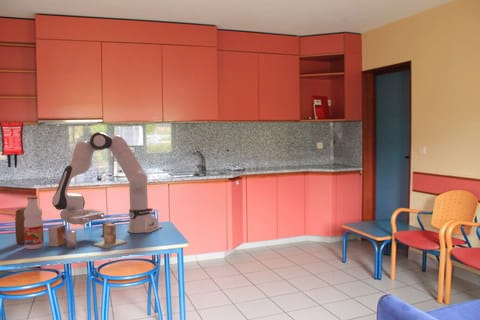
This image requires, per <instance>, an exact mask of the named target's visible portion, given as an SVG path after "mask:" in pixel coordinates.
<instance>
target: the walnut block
mask: <svg viewBox="0 0 480 320" xmlns="http://www.w3.org/2000/svg"><path fill="white" fill-rule="evenodd" d="M107 224H115V222H113V221H105V222H103V223H102V235H104V225H107Z"/></svg>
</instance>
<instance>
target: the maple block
mask: <svg viewBox="0 0 480 320" xmlns="http://www.w3.org/2000/svg"><path fill="white" fill-rule="evenodd" d="M116 228H117V226H116V223H114V224H107V225H104V234H103V238H104V239H103V241H104V243H108V244H111V243H115V242H116V239H117V229H116Z"/></svg>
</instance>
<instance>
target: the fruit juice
mask: <svg viewBox="0 0 480 320" xmlns="http://www.w3.org/2000/svg"><path fill="white" fill-rule="evenodd" d="M25 208H26V209H25V210H24V217H25V220H24V239H25V244H24V248H25V249H26V250H35V249H37V250H38V249H41V248H43V247H44V246H45V242H44V241H45V240H44V239H45V237H44V236H45V235H44V220H43V217H42V215H43V210H42V208H41V207H40V204H39V203H38V196H37V195H32V196H27V204H26V207H25Z"/></svg>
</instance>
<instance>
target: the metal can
mask: <svg viewBox="0 0 480 320" xmlns="http://www.w3.org/2000/svg"><path fill="white" fill-rule="evenodd" d="M77 248H78V247H77V230H68V231H66V249H67V250H75V249H77Z"/></svg>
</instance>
